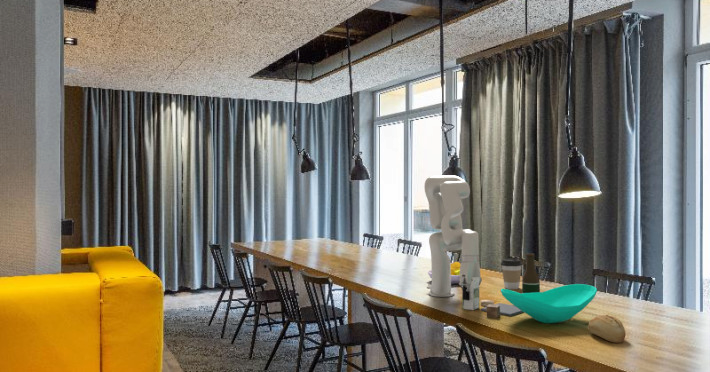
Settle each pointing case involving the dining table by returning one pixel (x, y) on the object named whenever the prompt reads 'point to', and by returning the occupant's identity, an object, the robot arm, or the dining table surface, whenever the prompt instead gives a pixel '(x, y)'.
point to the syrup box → (472, 295)
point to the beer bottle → (530, 276)
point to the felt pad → (506, 309)
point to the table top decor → (553, 302)
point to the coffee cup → (511, 273)
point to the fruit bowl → (452, 273)
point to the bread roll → (607, 328)
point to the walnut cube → (493, 311)
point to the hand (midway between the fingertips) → (470, 298)
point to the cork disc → (486, 302)
